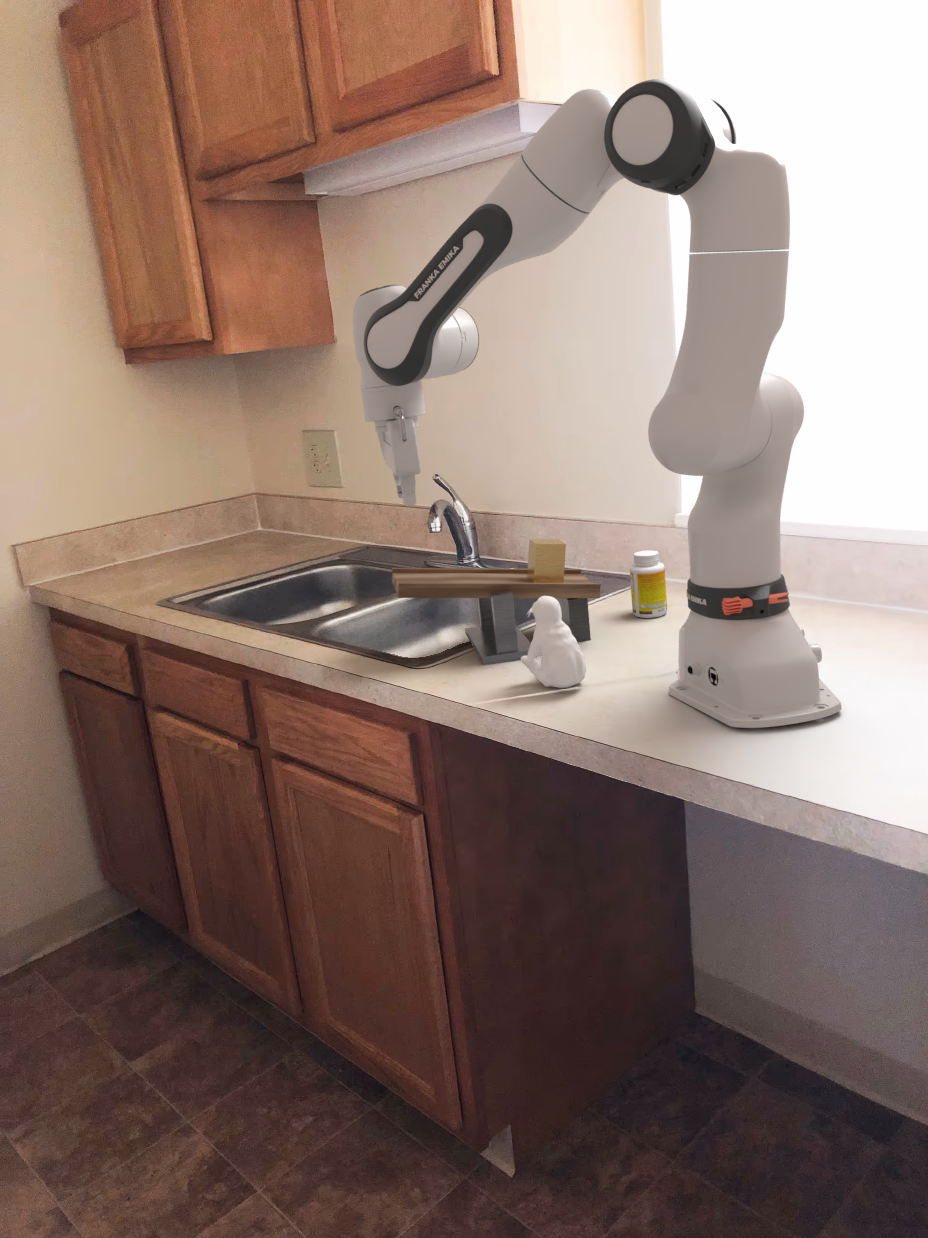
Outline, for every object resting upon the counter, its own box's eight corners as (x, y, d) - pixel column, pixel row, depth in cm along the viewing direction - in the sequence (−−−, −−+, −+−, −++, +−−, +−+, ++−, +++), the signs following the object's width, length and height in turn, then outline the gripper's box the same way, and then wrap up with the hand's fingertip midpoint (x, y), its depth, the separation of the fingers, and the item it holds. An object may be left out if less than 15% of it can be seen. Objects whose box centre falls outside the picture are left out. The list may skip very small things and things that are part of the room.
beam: (599, 604, 150) (600, 584, 149) (398, 604, 145) (398, 583, 144) (578, 587, 161) (579, 568, 160) (391, 586, 157) (392, 567, 156)
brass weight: (563, 583, 152) (565, 544, 150) (533, 583, 151) (535, 543, 150) (556, 577, 156) (558, 539, 155) (527, 577, 155) (529, 538, 154)
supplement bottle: (674, 613, 162) (671, 551, 159) (647, 621, 159) (643, 558, 157) (652, 607, 167) (648, 547, 164) (625, 615, 164) (621, 554, 162)
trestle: (598, 647, 149) (593, 582, 146) (483, 665, 147) (475, 599, 144) (570, 620, 165) (565, 560, 162) (465, 635, 163) (458, 575, 160)
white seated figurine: (562, 696, 130) (554, 607, 127) (520, 683, 137) (511, 598, 134) (597, 683, 134) (590, 596, 131) (555, 671, 140) (547, 588, 137)
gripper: (423, 404, 135) (436, 506, 138) (409, 401, 154) (420, 490, 158) (377, 410, 134) (391, 513, 137) (368, 406, 153) (381, 496, 157)
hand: (407, 501), depth 148 cm, fingers open, 8 cm apart
